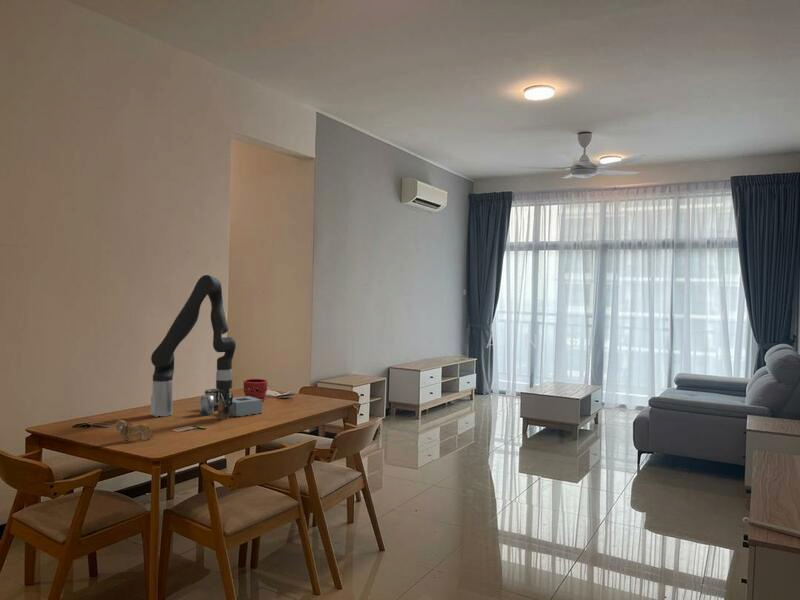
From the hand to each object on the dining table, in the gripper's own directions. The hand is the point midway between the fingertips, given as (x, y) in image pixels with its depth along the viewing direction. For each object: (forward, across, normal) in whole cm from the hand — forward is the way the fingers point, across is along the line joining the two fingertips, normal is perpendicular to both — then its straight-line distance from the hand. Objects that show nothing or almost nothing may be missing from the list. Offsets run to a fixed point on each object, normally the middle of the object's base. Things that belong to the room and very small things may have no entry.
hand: (223, 413), depth 291 cm
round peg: (+3, -15, -2) cm, 15 cm away
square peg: (+3, 0, 0) cm, 3 cm away
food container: (+3, -26, +9) cm, 28 cm away
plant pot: (+3, -32, +34) cm, 47 cm away
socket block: (+3, -6, +13) cm, 15 cm away
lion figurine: (+3, +18, -48) cm, 51 cm away
